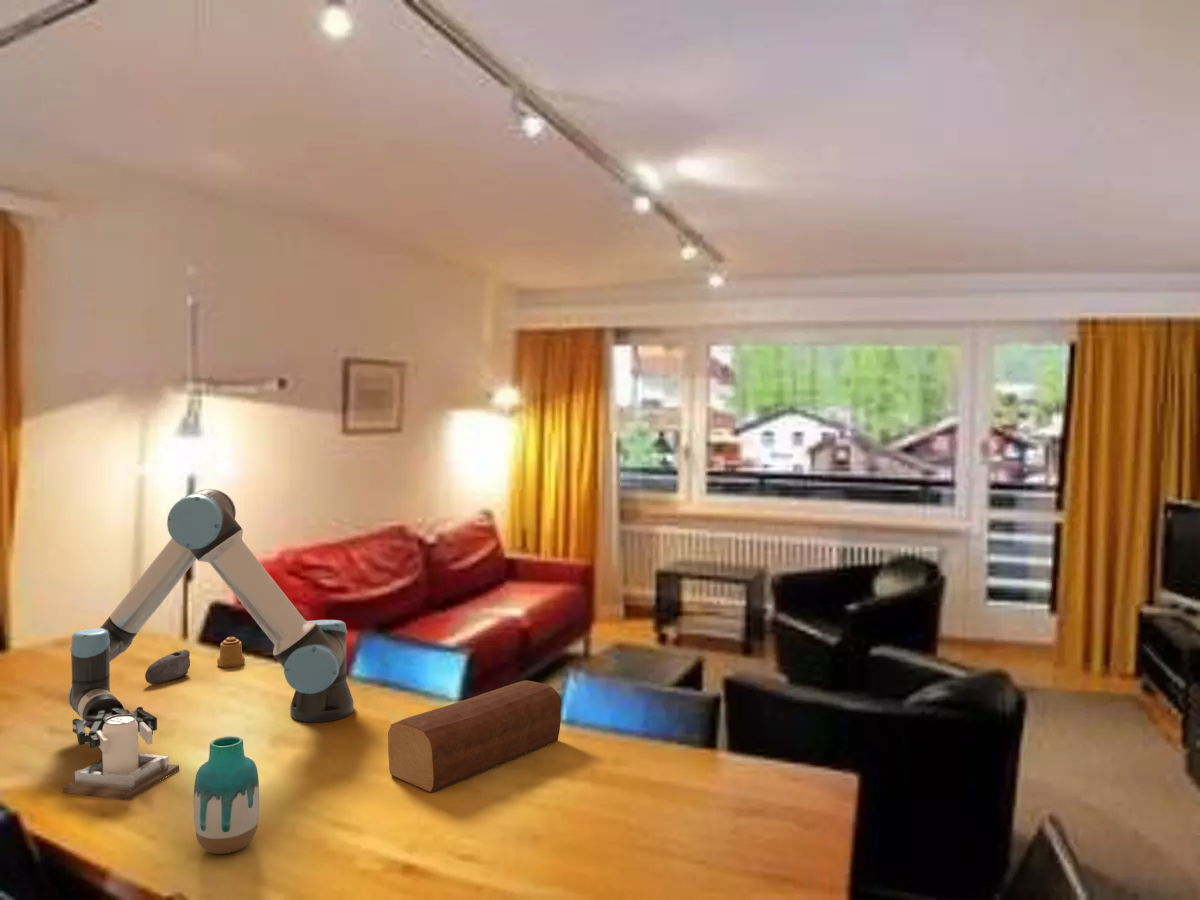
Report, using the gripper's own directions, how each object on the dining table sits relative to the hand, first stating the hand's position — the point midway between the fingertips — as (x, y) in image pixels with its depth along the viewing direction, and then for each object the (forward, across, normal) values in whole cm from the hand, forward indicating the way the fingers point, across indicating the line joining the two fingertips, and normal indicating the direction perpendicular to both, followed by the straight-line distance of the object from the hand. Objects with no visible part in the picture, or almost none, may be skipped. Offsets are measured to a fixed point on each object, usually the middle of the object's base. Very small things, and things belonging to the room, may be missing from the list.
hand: (128, 742), depth 185 cm
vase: (+37, -7, -10) cm, 39 cm away
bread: (+29, -64, -10) cm, 71 cm away
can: (-5, 0, -9) cm, 10 cm away
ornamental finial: (-73, -45, -10) cm, 86 cm away
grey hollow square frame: (-5, 0, -10) cm, 11 cm away
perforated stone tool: (-69, -26, -10) cm, 74 cm away
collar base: (-5, 0, -10) cm, 11 cm away
